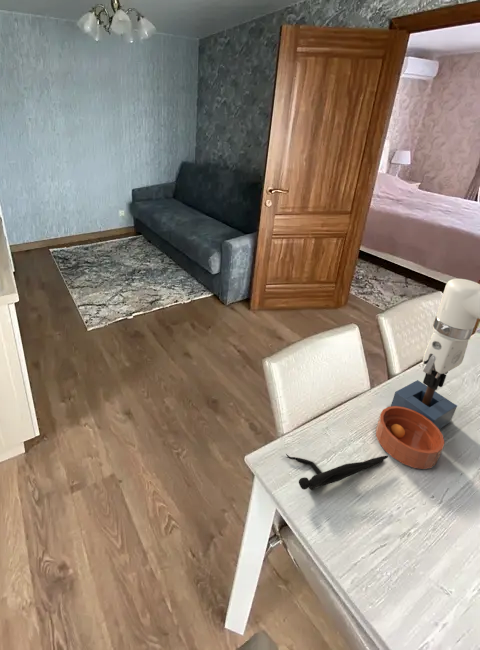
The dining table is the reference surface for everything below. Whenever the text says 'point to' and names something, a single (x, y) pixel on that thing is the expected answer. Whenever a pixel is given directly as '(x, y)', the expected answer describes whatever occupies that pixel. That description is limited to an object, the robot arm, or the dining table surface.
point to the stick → (428, 395)
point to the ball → (397, 431)
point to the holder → (413, 398)
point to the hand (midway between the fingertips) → (432, 384)
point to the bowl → (410, 437)
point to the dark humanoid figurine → (334, 472)
